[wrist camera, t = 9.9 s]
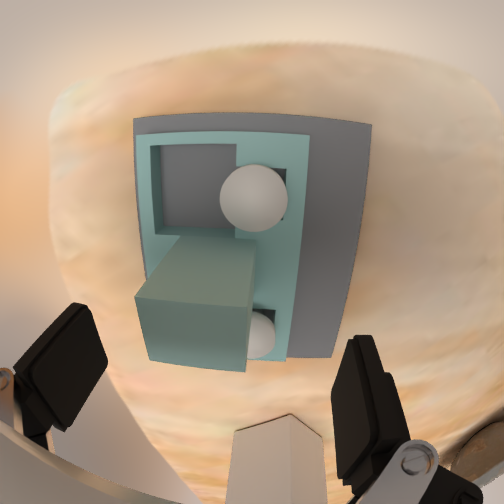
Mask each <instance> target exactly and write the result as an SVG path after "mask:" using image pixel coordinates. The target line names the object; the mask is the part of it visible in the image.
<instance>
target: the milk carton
mask: <svg viewBox="0 0 504 504" xmlns="http://www.w3.org/2000/svg"><path fill="white" fill-rule="evenodd" d="M225 504H328V502H327V487H326V474H325V462H324V451H323V441H322V438H321V437H320V436H319V435H317V434H316V433H315V432H313V431H312V430H311V429H309V428H308V427H307V426H305V425H304V424H303V423H302V422H300V421H299V420H298V419H296V418H295V417H294V416H292V415H288V416H285V417H282V418H279V419H276V420H273V421H270V422H267V423H264V424H260V425H257V426H254V427H250V428H247V429H243V430H240V431H236V432H234V439H233V447H232V454H231V462H230V470H229V478H228V485H227V493H226V501H225Z"/></svg>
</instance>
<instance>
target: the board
mask: <svg viewBox="0 0 504 504" xmlns="http://www.w3.org/2000/svg"><path fill="white" fill-rule="evenodd" d="M371 130H372V125H371V124H365V123H359V122H352V121H345V120H338V119H330V118H321V117H311V116H300V115H287V114H269V113H194V114H176V115H163V116H152V117H142V118H134V119H133V139H134V168H135V186H136V199H137V211H138V221H139V231H140V239H141V247H142V255H143V262H144V269H145V276H146V280H147V279H148V276H147V269H146V262H145V255H144V247H143V238H142V229H141V219H140V208H139V195H138V180H137V159H136V135H145V134H157V133H174V132H200V131H244V132H271V133H288V134H301V135H310V140H309V156H308V170H307V183H306V196H305V207H304V218H303V228H302V238H301V248H300V257H299V266H298V274H297V283H296V291H295V298H294V306H293V313H292V321H291V328H290V335H289V342H288V348H287V355H286V357H294V358H331V357H332V353H333V350H334V346H335V342H336V339H337V335H338V331H339V327H340V323H341V319H342V315H343V311H344V307H345V303H346V298H347V294H348V290H349V285H350V280H351V276H352V271H353V266H354V261H355V255H356V250H357V244H358V239H359V233H360V227H361V220H362V214H363V207H364V199H365V192H366V184H367V175H368V166H369V155H370V144H371ZM236 152H237V144H172V145H160V169H161V193H162V210H163V225H164V226H177V227H202V228H225V229H235V227H237V228H239V229H241V230H244V231H249V232H260V231H264V230H267V229H269V228H271V227H273V226H274V225H276V224H277V223H278V222H279V221H280V220H281V218H282V217H283V215H284V214H285V211H286V208H287V203H288V196H287V191H286V187H285V184H284V178H285V169H284V168H269V167H267V166H264V165H260V164H249V165H245V166H236ZM273 320H274V310H271V309H253V308H252V317H251V326H250V335H249V344H248V353H247V359H255V358H260V357H263V356H265V355H267V354H268V353H269V352H270V351H271V350H272V349H273V348H274V345H275V327H274V324H273Z"/></svg>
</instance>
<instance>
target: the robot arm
mask: <svg viewBox="0 0 504 504" xmlns="http://www.w3.org/2000/svg"><path fill="white" fill-rule="evenodd" d="M107 365H108V359H107V356H106V353H105V351H104V348H103V345H102V343H101V340H100V337H99V334H98V331H97V328H96V325H95V322H94V319H93V316H92V313H91V311H90V310H89V308H88V306H87V305H84V304H80V303H75V302H74V303H72V304H71V305H70V306H69V307H67V308H66V310H65V311H64V312H63V313H62V314H61V315H60V316H59V317H58V318H57V319H56V320H55V321H54V322H53V323H52V324H51V325H50V326H49V327H48V328H47V329H46V330H45V331H44V332H43V334H42V335H41V336H40V337H39V338H38V339H37V340H36V341H35V342H34V343H33V344H32V346H31V347H30V348H29V349H28V350H27V351H26V352H25V353H24V355H23V356H22V357H21V358H20V359H19V360H18V362H17V363H16V364H15V365H14V366H13V369H14V370H15V372H16V373H15V375H14V374H13V373H12V371H11V370H10V369H8V368H0V504H181V503H177V502H173V501H169V500H165V499H162V498H158V497H155V496H151V495H148V494H145V493H142V492H139V491H136V490H133V489H130V488H127V487H125V486H122V485H119V484H117V483H114V482H112V481H109V480H106V479H104V478H102V477H100V476H97V475H95V474H93V473H90V472H88V471H86V470H84V469H82V468H80V467H78V466H76V465H74V464H72V463H70V462H68V461H66V460H64V459H62V458H60V457H58V456H57V455H55V450H54V445H53V441H52V435H51V429H50V428H51V426H52V425H53V426H54V427H55V428H57V429H59V430H61V431H63V432H65V431H66V429H67V427H70V426H71V425H72V424H73V422H74V420H75V418H76V417H77V415H78V413H79V412H80V410H81V408H82V407H83V405H84V403H85V402H86V400H87V398H88V396H89V395H90V393H91V391H92V390H93V388H94V387H95V385H96V384H97V382H98V380H99V379H100V377H101V375H102V374H103V372H104V371H105V369H106V368H107ZM331 404H332V414H333V425H334V436H335V449H336V463H337V476H338V479H343V486H345V485H352V493H353V494H354V495H353V496H352V498H351V499H350V500H349V501H348V502H347V503H346V504H483V494H482V491H481V489H480V488H479V487H478V486H477V485H476V484H474V483H472V482H470V481H468V480H466V479H464V478H462V477H460V476H458V475H457V474H455V473H453V472H451V471H449V470H447V469H446V468H444V467H442V466H440V465H438V464H439V456H438V454H437V451H436V449H435V448H434V447H433V446H432V445H431V444H430V443H428V442H426V441H423V440H411V438H410V434H409V430H408V427H407V423H406V419H405V416H404V412H403V409H402V406H401V402H400V399H399V396H398V392H397V389H396V386H395V383H394V380H393V377H392V375H391V374H390V373H389V372H384V370H383V366H382V363H381V360H380V357H379V354H378V351H377V348H376V345H375V342H374V339H373V337H372V336H371V335H355V336H354V338H353V339H349V340H348V342H347V345H346V348H345V352H344V355H343V358H342V361H341V364H340V367H339V370H338V373H337V376H336V379H335V382H334V385H333V387H332V391H331Z"/></svg>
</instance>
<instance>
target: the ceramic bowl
mask: <svg viewBox="0 0 504 504" xmlns="http://www.w3.org/2000/svg"><path fill="white" fill-rule="evenodd" d="M450 471H451V472H453V473H455V474H457V475H458V476H460V477H462V478H464V479H466V480H468V481H470V482H472V483H474V484H476V485H477V486H478V487H479V488H481V487H483V486H485V485H487V484H489V483H490V482H492V481H493V480H495V478H497V477H499V476H500V475H502V474H503V473H504V421H503V422H496V423H492V424H490V425H489V426H487V427H485V428H484V429H482V430H481V431H479V432H478V433H477V434H475V435H474V436H473V437H472V438H471V439H470V440H469V441H468V442H467V443H466V445H465V446H464V447H463V448H462V449H461V450H460V452H459V453H458V454H457V456H456V458H455V460H454V462H453V464H452V466H451V469H450Z"/></svg>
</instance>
